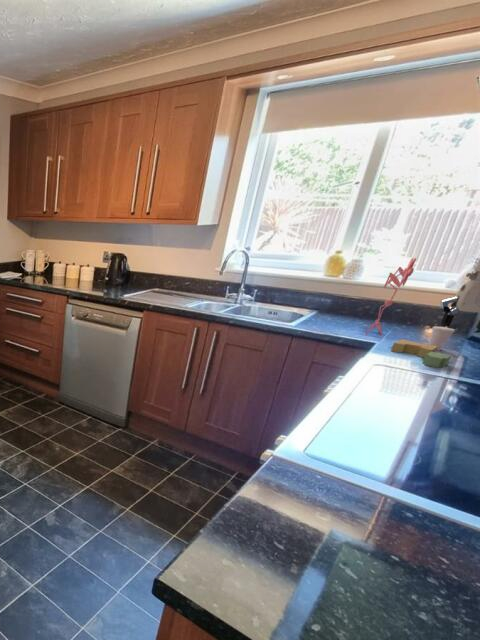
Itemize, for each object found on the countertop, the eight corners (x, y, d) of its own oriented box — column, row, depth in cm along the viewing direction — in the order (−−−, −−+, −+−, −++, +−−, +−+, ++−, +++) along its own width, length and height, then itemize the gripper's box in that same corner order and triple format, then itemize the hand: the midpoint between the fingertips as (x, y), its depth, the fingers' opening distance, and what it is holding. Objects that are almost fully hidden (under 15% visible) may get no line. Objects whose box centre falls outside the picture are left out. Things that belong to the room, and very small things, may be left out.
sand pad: (434, 354, 170) (438, 346, 169) (428, 358, 164) (432, 349, 163) (397, 347, 178) (401, 339, 177) (390, 350, 172) (394, 342, 171)
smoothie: (448, 354, 171) (464, 320, 166) (428, 352, 173) (444, 318, 168) (437, 350, 177) (453, 317, 172) (418, 347, 179) (433, 315, 174)
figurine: (361, 336, 195) (393, 257, 182) (364, 327, 212) (393, 255, 199) (407, 343, 185) (444, 261, 172) (406, 334, 203) (439, 258, 190)
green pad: (420, 364, 156) (424, 355, 155) (426, 360, 162) (431, 351, 160) (441, 368, 152) (446, 359, 151) (447, 364, 158) (451, 355, 156)
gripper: (461, 276, 141) (437, 326, 147) (530, 281, 136) (503, 333, 142) (446, 274, 147) (424, 322, 154) (511, 278, 142) (486, 328, 149)
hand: (462, 327), depth 148 cm, fingers open, 9 cm apart
